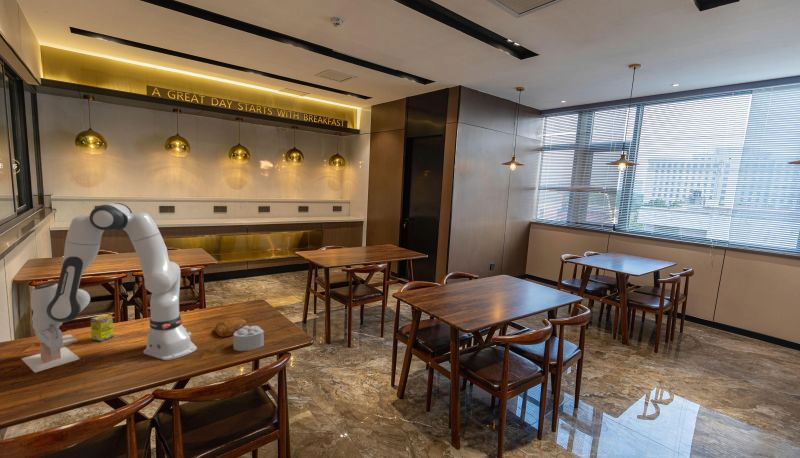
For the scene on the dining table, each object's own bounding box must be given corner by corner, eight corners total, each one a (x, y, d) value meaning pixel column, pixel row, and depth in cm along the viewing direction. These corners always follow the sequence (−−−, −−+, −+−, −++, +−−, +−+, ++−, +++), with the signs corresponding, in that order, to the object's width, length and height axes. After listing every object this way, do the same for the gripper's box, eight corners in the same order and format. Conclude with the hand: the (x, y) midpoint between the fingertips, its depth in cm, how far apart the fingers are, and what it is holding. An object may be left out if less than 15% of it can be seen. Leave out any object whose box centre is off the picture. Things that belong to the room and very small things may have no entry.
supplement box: (101, 342, 169) (100, 320, 168) (91, 340, 170) (89, 318, 169) (114, 337, 175) (112, 315, 173) (104, 335, 176) (102, 314, 174)
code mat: (80, 359, 154) (80, 358, 154) (34, 373, 142) (34, 372, 142) (65, 346, 163) (65, 346, 163) (21, 359, 151) (21, 358, 151)
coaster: (77, 341, 168) (77, 339, 168) (48, 349, 160) (48, 347, 160) (69, 335, 174) (69, 333, 173) (41, 343, 165) (41, 341, 165)
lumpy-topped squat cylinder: (265, 346, 174) (265, 328, 173) (237, 353, 165) (237, 335, 164) (257, 338, 182) (257, 321, 180) (230, 345, 173) (229, 328, 172)
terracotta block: (60, 358, 153) (59, 342, 152) (44, 362, 149) (43, 346, 148) (56, 354, 156) (55, 339, 155) (40, 359, 152) (39, 343, 151)
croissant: (251, 334, 191) (253, 319, 191) (223, 340, 178) (225, 324, 178) (235, 326, 199) (237, 312, 198) (207, 331, 185) (209, 316, 185)
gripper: (66, 326, 148) (69, 357, 149) (49, 314, 158) (52, 343, 160) (46, 331, 142) (48, 363, 144) (29, 318, 153) (32, 349, 155)
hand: (50, 353), depth 152 cm, fingers closed on terracotta block, 5 cm apart
